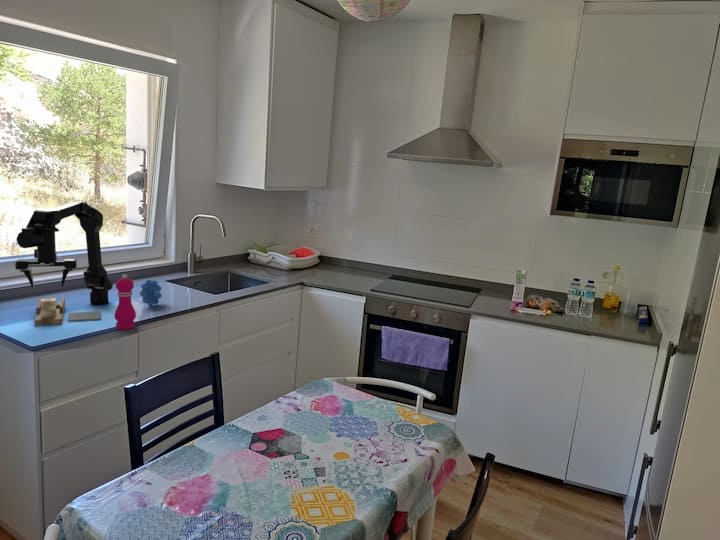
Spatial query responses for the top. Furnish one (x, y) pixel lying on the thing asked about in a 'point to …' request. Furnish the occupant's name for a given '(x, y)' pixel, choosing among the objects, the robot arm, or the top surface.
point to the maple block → (48, 307)
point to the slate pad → (84, 316)
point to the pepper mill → (125, 304)
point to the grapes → (150, 292)
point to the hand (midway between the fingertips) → (47, 287)
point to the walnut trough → (50, 320)
